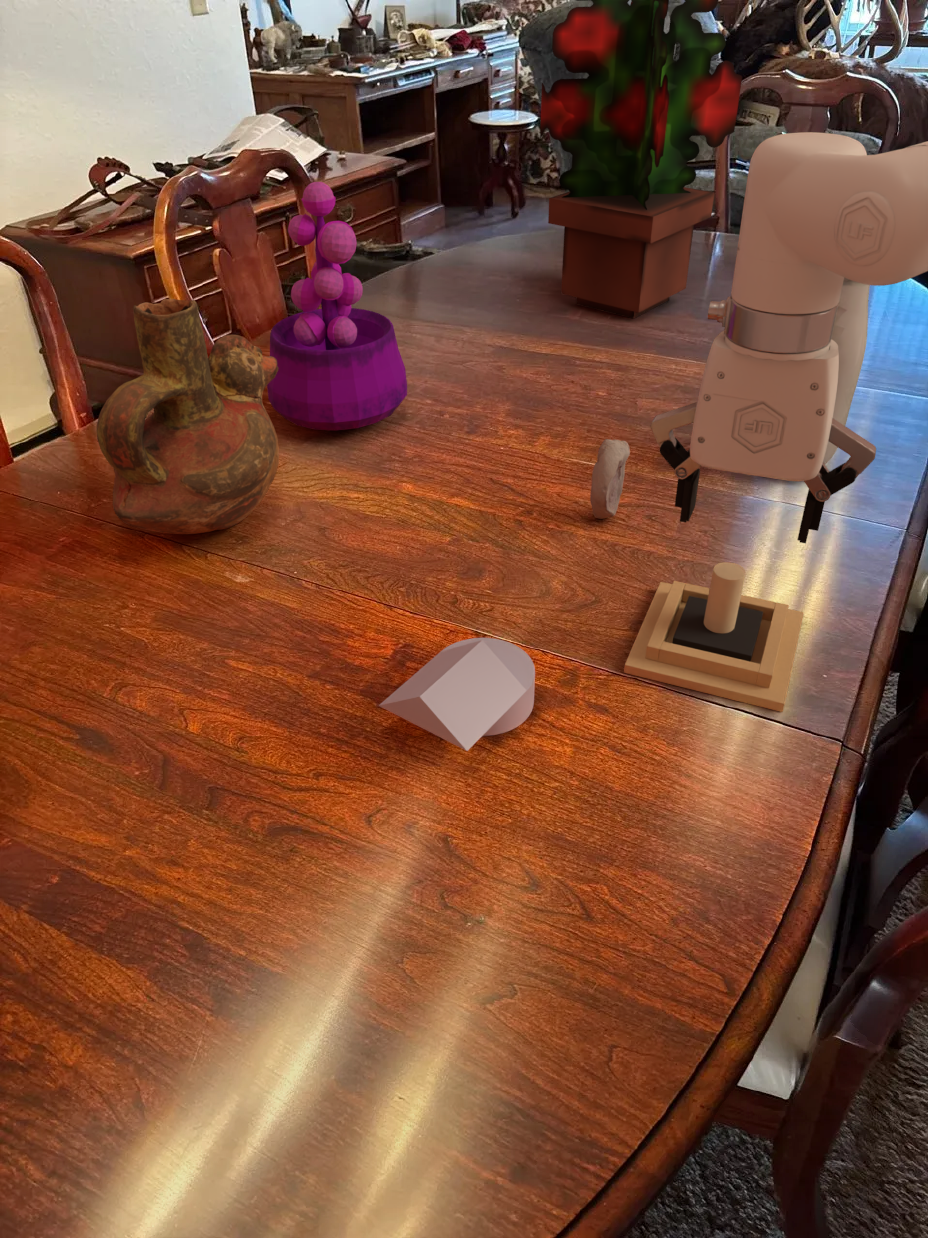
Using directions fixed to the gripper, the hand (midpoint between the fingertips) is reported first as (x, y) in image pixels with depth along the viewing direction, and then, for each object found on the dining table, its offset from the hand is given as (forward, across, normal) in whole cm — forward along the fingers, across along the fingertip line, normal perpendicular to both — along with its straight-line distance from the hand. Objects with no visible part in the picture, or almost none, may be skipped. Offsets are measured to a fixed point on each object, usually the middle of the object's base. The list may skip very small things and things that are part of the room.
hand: (744, 524), depth 78 cm
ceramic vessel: (+13, -59, +3) cm, 60 cm away
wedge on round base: (+14, -19, -17) cm, 28 cm away
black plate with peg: (+12, -1, 0) cm, 13 cm away
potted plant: (+12, -34, +90) cm, 97 cm away
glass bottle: (+13, +1, +38) cm, 41 cm away
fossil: (+13, -17, +18) cm, 28 cm away
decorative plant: (+12, -58, +31) cm, 67 cm away
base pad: (+14, -1, 0) cm, 14 cm away
